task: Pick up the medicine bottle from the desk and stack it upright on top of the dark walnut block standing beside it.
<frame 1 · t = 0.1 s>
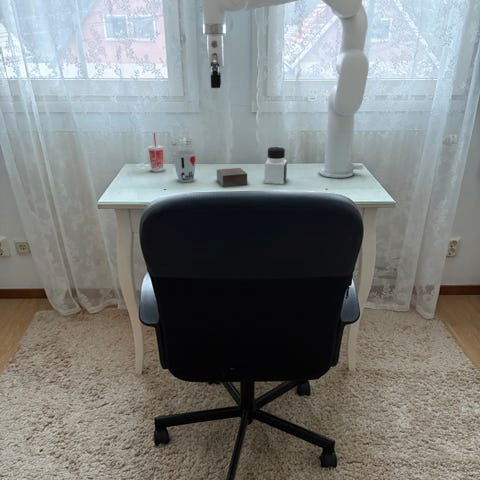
hand: (216, 86, 181), 31 cm above the table, tool pointing down, fingers open, 9 cm apart
walnut block: (231, 182, 188), on the table
medicine bottle: (275, 181, 189), on the table
cup: (186, 180, 191), on the table
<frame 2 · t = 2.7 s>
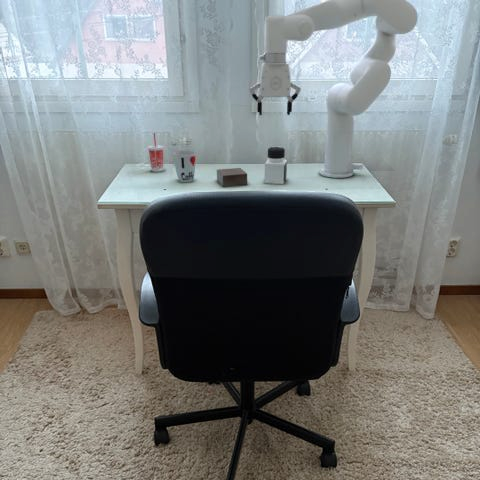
hand: (274, 114, 177), 23 cm above the table, tool pointing down, fingers open, 9 cm apart
nothing on the table moved.
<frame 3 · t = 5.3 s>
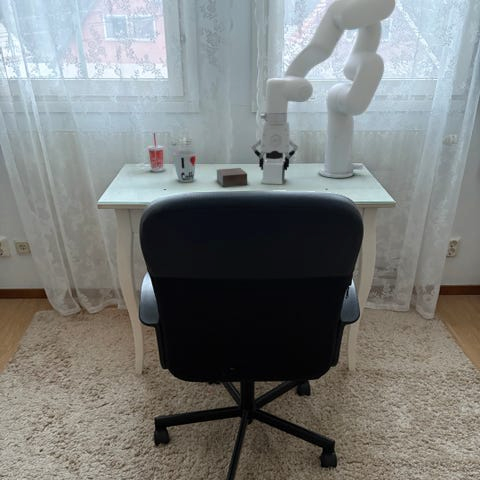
hand: (273, 169, 186), 4 cm above the table, tool pointing down, fingers closed on medicine bottle, 8 cm apart
medicine bottle: (273, 182, 189), on the table, touching gripper
everything else where it was.
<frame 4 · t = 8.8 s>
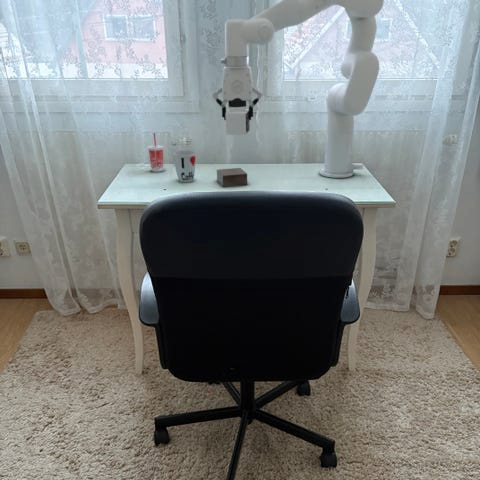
hand: (237, 119, 177), 22 cm above the table, tool pointing down, fingers closed on medicine bottle, 8 cm apart
medicine bottle: (238, 133, 179), point 17 cm above the table, touching gripper
everything else where it was.
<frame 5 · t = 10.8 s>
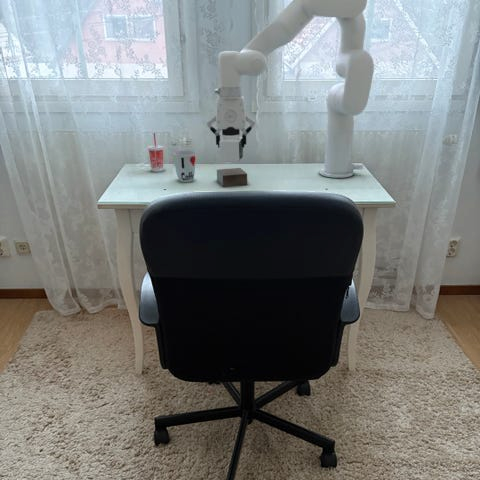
hand: (231, 146, 181), 13 cm above the table, tool pointing down, fingers closed on medicine bottle, 8 cm apart
medicine bottle: (231, 160, 184), point 8 cm above the table, touching gripper
everything else where it was.
when the fingers open (9 cm above the table, at t = 12.4 s): medicine bottle stays where it is, resting on walnut block.
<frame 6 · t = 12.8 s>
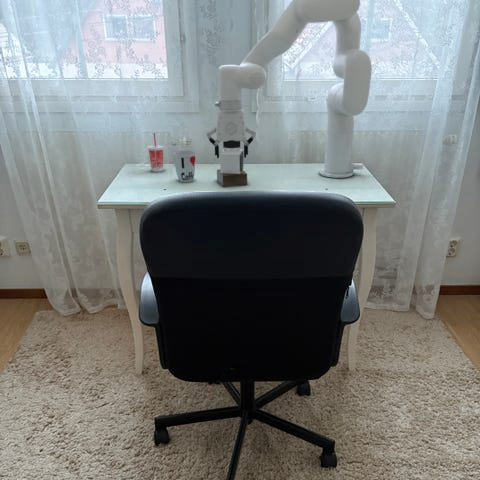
hand: (231, 157, 183), 9 cm above the table, tool pointing down, fingers open, 9 cm apart
walnut block: (231, 182, 188), on the table, touching medicine bottle
medicine bottle: (232, 172, 186), point 4 cm above the table, touching walnut block
everything else where it was.
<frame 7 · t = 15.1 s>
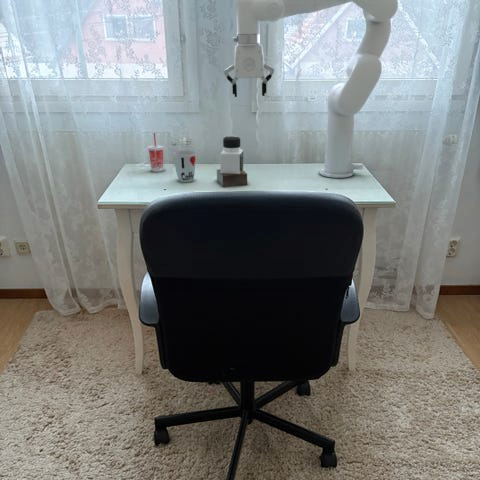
hand: (249, 96, 180), 28 cm above the table, tool pointing down, fingers open, 9 cm apart
nothing on the table moved.
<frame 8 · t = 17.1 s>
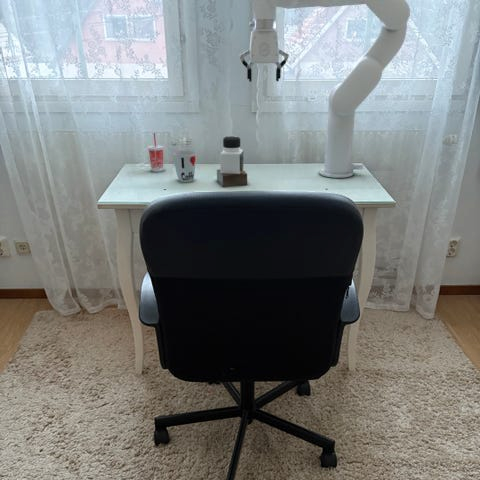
hand: (263, 81, 184), 32 cm above the table, tool pointing down, fingers open, 9 cm apart
nothing on the table moved.
at the end: medicine bottle 0.2 cm off-centre on the walnut block, point 3.8 cm above the walnut block's base; medicine bottle tilted 0°; the gripper is holding nothing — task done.
